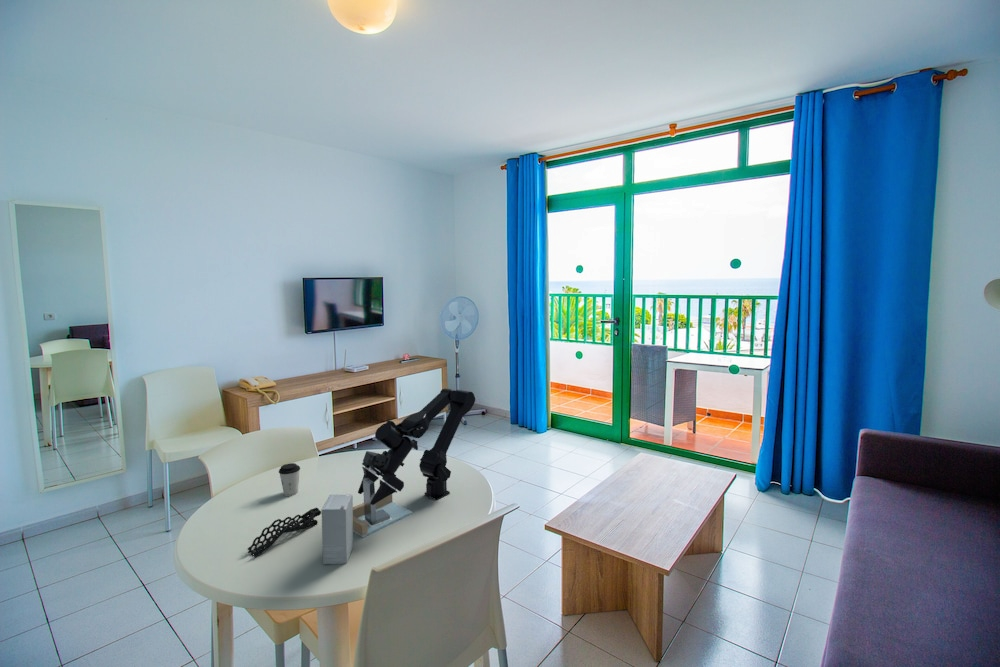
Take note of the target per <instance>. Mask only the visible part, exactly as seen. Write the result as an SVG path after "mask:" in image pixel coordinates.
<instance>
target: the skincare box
mask: <svg viewBox="0 0 1000 667" xmlns="http://www.w3.org/2000/svg"><path fill="white" fill-rule="evenodd" d="M353 500H354V499H353V494H349V493H348V494H347V493H346V494H339V493H338V494H330V495H329V496H328V498H327V499H326V501H325V502H324V504H323V506H322V507H321V510H320V511H321V543H322V564H323V565H340V564H347V563H348V561H349V558H350V556H351V553H352V550H353V547H354V532H353V507H354V503H353V502H354V501H353Z"/></svg>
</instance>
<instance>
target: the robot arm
mask: <svg viewBox="0 0 1000 667" xmlns="http://www.w3.org/2000/svg"><path fill="white" fill-rule="evenodd" d="M475 403H476V397H475V394H474V392H473V391H470V390H462V389H456V390H455V389H452V388H446V387H445V388H442V389H441V390H440V392H439V393H438V394H437V395H436V396H435V397H434V398H433V399H431V401H430V402H428V403H427V404H426V405H424V406H423V408H421V409H420V410H419V411H418V412H415V413H412V414H410V415H408V416H407V417H405V418H404V419H402V421H401V422H399V423H398V424H396V423H395V422H394V421H393V420H389V419H388V420H387V421H386V422H385V423H383V424H381V425H380V426H379V427H377V429H376V430H375V432H374V433H375V434H374V437H375V440H377V441H379V442H380V443H381V444H382V445H384V446H385V447H386V448H388V450H387V451H386V450H383V452H381V453H379V452H375V451H374V452H373V451H370V450H366V451H365V454H364V457H363V460H362V463H361V465H362V466H361V467H362V468H361V469H362V470H363V477H362V479H361V482H360V485H359V488H358V491H357V493H358V494H359V495H361V494H364V493H363V479H364V478H369V479H370V480H371V481H373V482H374V483H375V482H377V480H379V487H378V489H377V490H376V491H375V495H374V497H373V498H372V500H371V502H370V504H372V505H374V504H376V503H377V502H379V501H380V500H382V499H384V498H385V497H387V496H389V495H391V494H392V495H393V494H394V493H398V492H402V490H403V488H404V487H405V482H404V481H403V480H401V479H400V478H399V477H397V474H396V472H397V471H398V469H399V468H400V467H402V468H403V467H404V465H405V463H404V461H405V459H406V458H407V457H408V455H409V453H410V452H411V451H412V449H413V450H416V451H418V450H419V446H418V441H417V440H415V439H420V438H422V437H423V436H424V435H425V433H426V432H427V431H428V429H429V428H430V423H431V422H432V421H433V420H434V419H435V418H436V417H437V416H439V414H440V413H441V412H443V410H444V409H445V408H446V407H447V406H448V405H449V410H450V411H449V413H448V415H447V417H446V419H445V421H444V424H443V425H442V427H441V429H440V432H439V434H438V436H437V438H436V440H435V442H434V445H433V446H432V447H431V449H425V450H424V451H423V454H422V457H421V458H420V459H419V461H420V462H419V466H418V467H419V469H420V470H419V471H420V472H421V473H422V476H423V477H426V484H425V486H426V487H425V489H426V490H425V492H424V493H423V494H425V495H424V496H427V497H429V498H432V499H433V500H439V499H441V498H444V497H445V496H447V495H449V494H451V492H450V491H449V490H448V489H447V486H448V485H447V481H448V479H450V478H451V474H452V470H450V469H449V468H447V463H448V459H447V453H448V450H449V448H450V446H451V444H452V442H453V439H454V437H455V434H456V432H457V430H458V428H459V426H460V424H461V422H462V420H463V417H464V416H465V415H467V413H469V412H471V410H472V408H473V406H474V404H475ZM410 437H411V438H414V439H411V438H410ZM379 476H380V477H381V479H380V477H379ZM448 493H449V494H448ZM446 494H447V495H446ZM444 495H445V496H444Z"/></svg>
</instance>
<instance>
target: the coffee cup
mask: <svg viewBox="0 0 1000 667" xmlns="http://www.w3.org/2000/svg"><path fill="white" fill-rule="evenodd" d="M300 470H301V467H300V466H299V465H298V464H297V463H295V462H294V463H293V462H292V463H286V464H283V465H281V466H280V468H279V470H278V474H279V478H280V481H281V487H282V491H283V495H284V497H292V495H293V496H296V495H297V494H298V493H299V484H300Z"/></svg>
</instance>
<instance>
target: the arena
mask: <svg viewBox="0 0 1000 667" xmlns="http://www.w3.org/2000/svg"><path fill="white" fill-rule="evenodd" d="M375 506H376V511H379V510H382V509H383V510H384V511H386V512H387V513H388V514H389V515H390V519H388V520H385V521H383V522H380V523H377V524H374V525H371V524H370V523H369V522H367V521H366V520H365V511H364V502H362V503H360V504H357V505H355V506H353V534H356V535H358V536H359V537H361V538H365V537H367V536H370V535H371V534H373V533H375V532H377V531H379V530H382V529H384V528H386V527H387V526H390V525H392V524H393V523H396V522H398V521H400V520H402V519H404V518H406V517H407V516H410V515H412V514H413V511H411V510H410V509H408V508H406V507H404V506H402V505H400V504H399V503H398V504H397V503H395V502H394V501H393V494H391V495H389V496H387V497H385V498H384V499H382V500H380V501H379V502H377V503H376V504H375Z"/></svg>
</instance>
